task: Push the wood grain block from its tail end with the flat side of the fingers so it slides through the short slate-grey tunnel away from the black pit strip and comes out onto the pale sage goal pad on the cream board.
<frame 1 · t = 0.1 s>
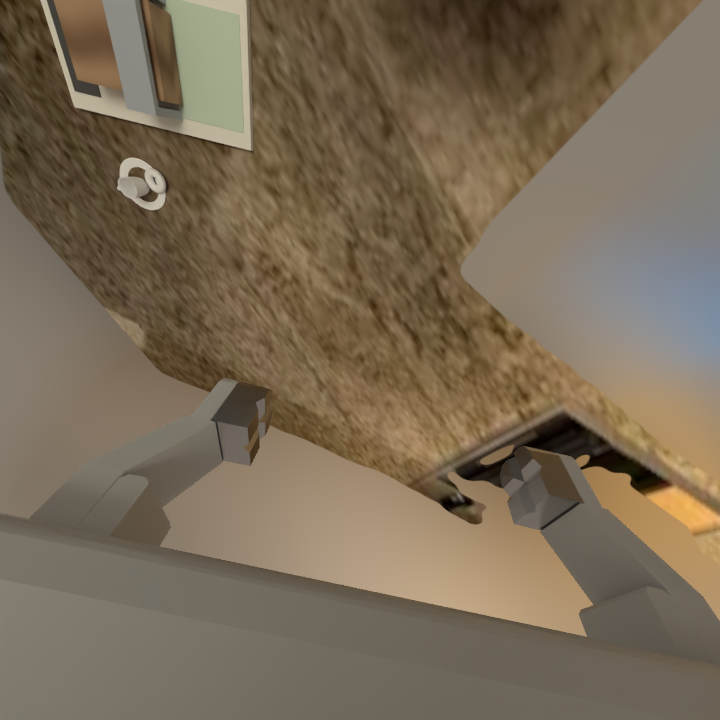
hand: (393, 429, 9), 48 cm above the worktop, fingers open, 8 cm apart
white ring-shaped piece: (161, 199, 52), on the worktop
tunnel: (165, 60, 40), resting on board
wood grain block: (122, 47, 37), point 3 cm above the worktop, slide at 0.0 cm
board: (155, 58, 40), on the worktop
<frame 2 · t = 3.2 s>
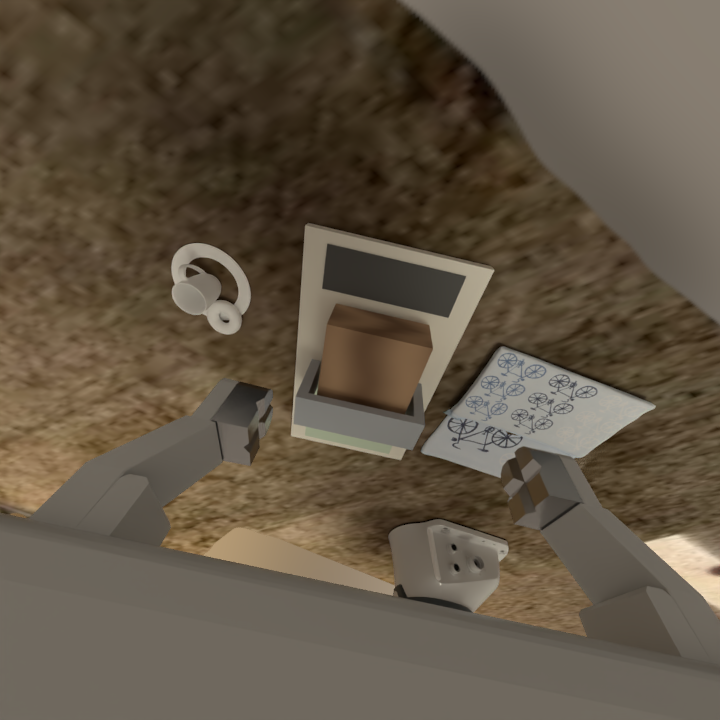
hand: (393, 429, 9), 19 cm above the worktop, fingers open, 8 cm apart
white ring-shaped piece: (200, 299, 30), on the worktop
tunnel: (364, 378, 33), resting on board
bicycle print towel: (514, 424, 36), on the worktop
wood grain block: (367, 375, 28), point 3 cm above the worktop, slide at 0.0 cm
board: (366, 369, 32), on the worktop
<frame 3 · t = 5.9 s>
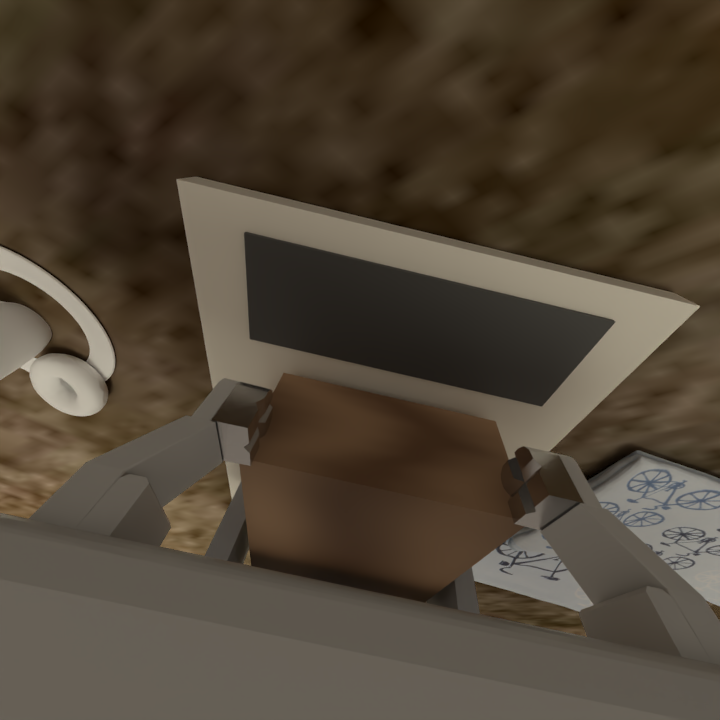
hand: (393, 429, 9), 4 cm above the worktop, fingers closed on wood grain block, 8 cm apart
white ring-shaped piece: (30, 346, 15), on the worktop
tunnel: (354, 481, 18), resting on board
bicycle print towel: (609, 545, 21), on the worktop
wood grain block: (357, 511, 14), point 3 cm above the worktop, slide at 0.1 cm, touching gripper
board: (358, 469, 18), on the worktop
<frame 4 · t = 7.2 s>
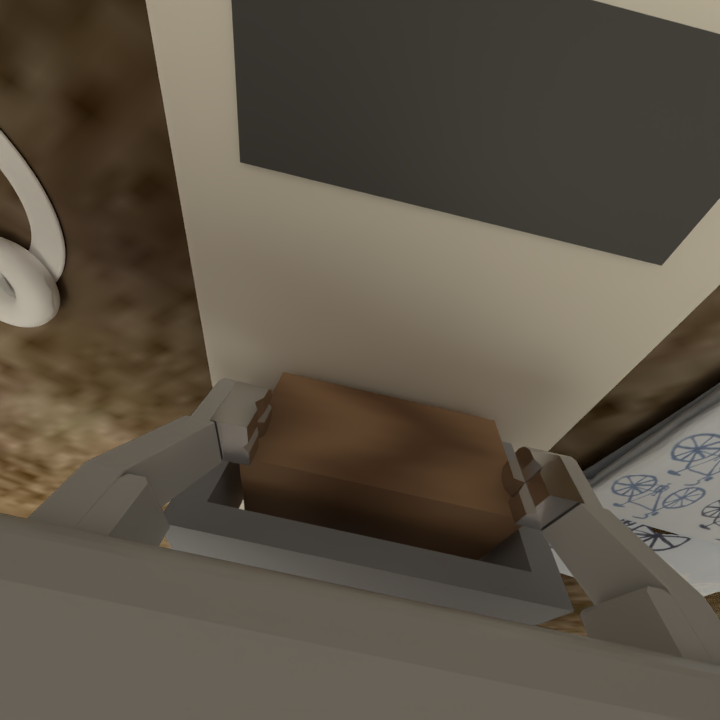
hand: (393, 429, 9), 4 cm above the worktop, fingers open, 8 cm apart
tunnel: (373, 424, 15), resting on board
bicycle print towel: (676, 510, 18), on the worktop
wood grain block: (356, 510, 14), point 3 cm above the worktop, slide at 5.9 cm, touching gripper
board: (379, 405, 14), on the worktop
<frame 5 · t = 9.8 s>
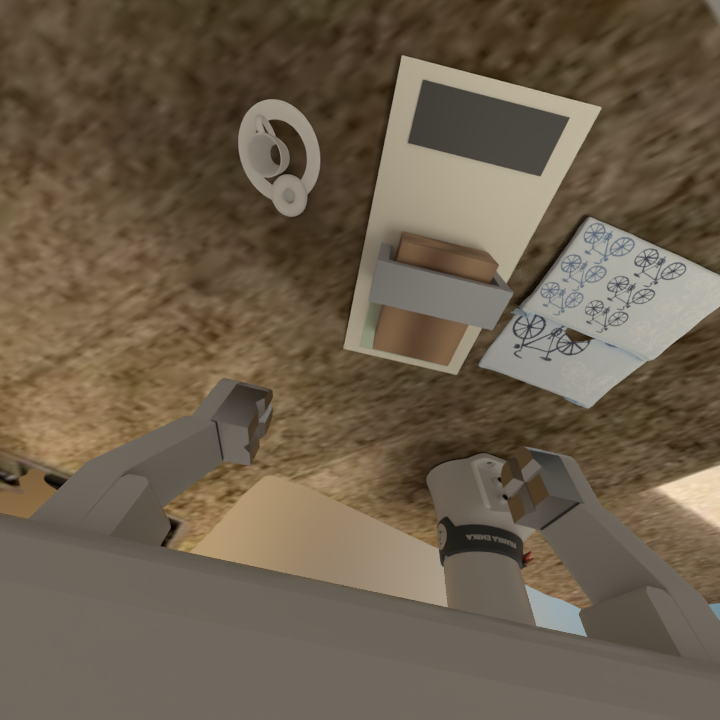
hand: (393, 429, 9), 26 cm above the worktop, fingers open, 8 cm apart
white ring-shaped piece: (262, 179, 29), on the worktop
tunnel: (431, 271, 32), resting on board
bicycle print towel: (581, 326, 34), on the worktop
wood grain block: (426, 303, 30), point 3 cm above the worktop, slide at 5.9 cm
board: (436, 258, 31), on the worktop
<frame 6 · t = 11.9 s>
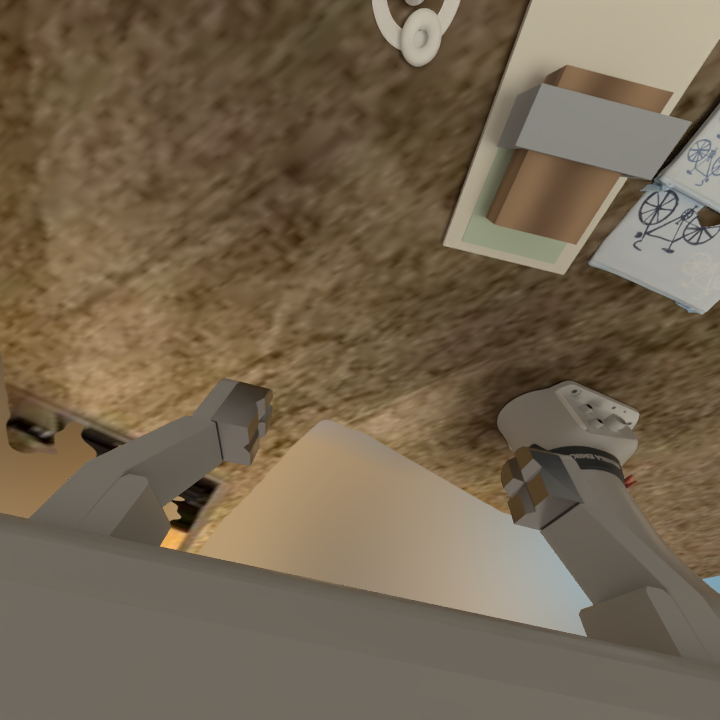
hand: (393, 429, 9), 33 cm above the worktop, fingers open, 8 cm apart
white ring-shaped piece: (388, 24, 26), on the worktop
tunnel: (561, 137, 29), resting on board
bicycle print towel: (714, 209, 32), on the worktop
wood grain block: (562, 166, 28), point 3 cm above the worktop, slide at 5.9 cm
board: (570, 119, 28), on the worktop
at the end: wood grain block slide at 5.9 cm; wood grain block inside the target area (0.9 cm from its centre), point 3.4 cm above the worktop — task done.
